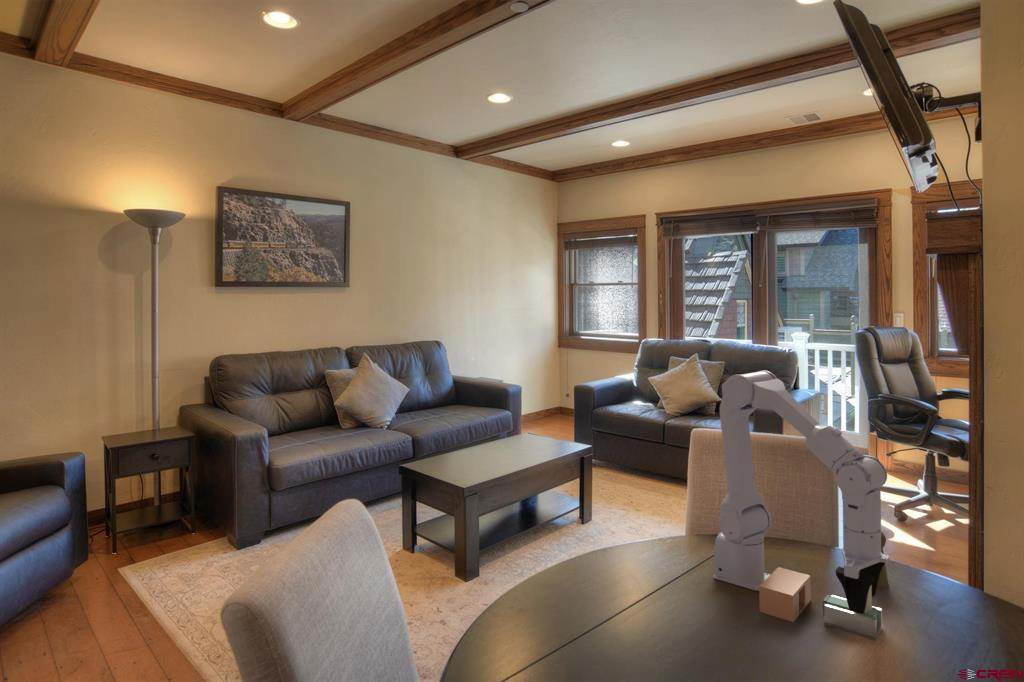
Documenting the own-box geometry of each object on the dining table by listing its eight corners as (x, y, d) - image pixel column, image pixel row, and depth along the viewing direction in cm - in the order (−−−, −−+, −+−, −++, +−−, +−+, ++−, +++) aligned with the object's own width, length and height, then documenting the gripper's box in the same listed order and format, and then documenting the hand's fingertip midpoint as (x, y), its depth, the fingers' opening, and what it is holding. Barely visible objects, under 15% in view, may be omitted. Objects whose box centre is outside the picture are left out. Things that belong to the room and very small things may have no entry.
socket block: (759, 611, 111) (759, 585, 111) (778, 591, 119) (778, 567, 118) (793, 622, 107) (792, 595, 107) (810, 600, 115) (810, 575, 114)
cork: (894, 590, 117) (893, 536, 116) (860, 588, 118) (860, 535, 118) (881, 576, 123) (881, 524, 122) (849, 574, 124) (849, 523, 123)
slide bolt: (823, 616, 107) (822, 577, 107) (827, 610, 109) (827, 571, 109) (873, 632, 102) (873, 590, 101) (877, 625, 104) (877, 584, 103)
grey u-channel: (824, 624, 106) (824, 605, 106) (832, 613, 110) (832, 594, 109) (875, 640, 101) (875, 620, 100) (882, 628, 104) (882, 608, 104)
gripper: (878, 546, 95) (879, 628, 96) (897, 519, 105) (898, 593, 106) (830, 536, 100) (831, 613, 101) (853, 511, 110) (854, 582, 111)
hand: (862, 602), depth 104 cm, fingers open, 7 cm apart
